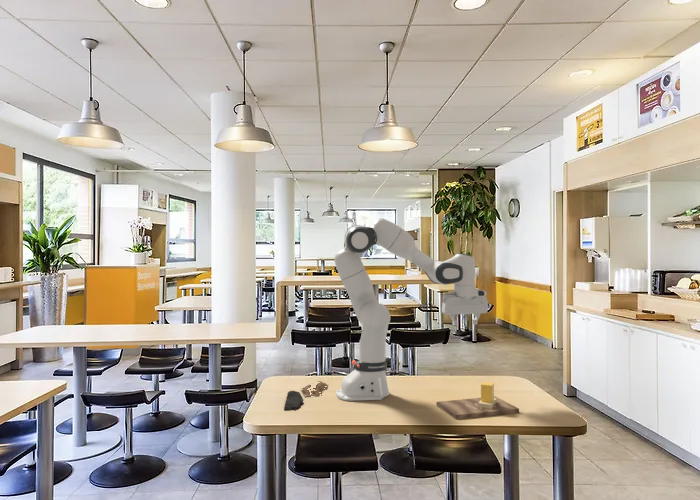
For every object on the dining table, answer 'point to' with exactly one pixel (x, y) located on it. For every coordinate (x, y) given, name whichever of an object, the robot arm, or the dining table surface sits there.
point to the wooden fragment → (318, 389)
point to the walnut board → (475, 408)
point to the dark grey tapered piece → (293, 401)
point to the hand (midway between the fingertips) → (464, 324)
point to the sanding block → (487, 396)
